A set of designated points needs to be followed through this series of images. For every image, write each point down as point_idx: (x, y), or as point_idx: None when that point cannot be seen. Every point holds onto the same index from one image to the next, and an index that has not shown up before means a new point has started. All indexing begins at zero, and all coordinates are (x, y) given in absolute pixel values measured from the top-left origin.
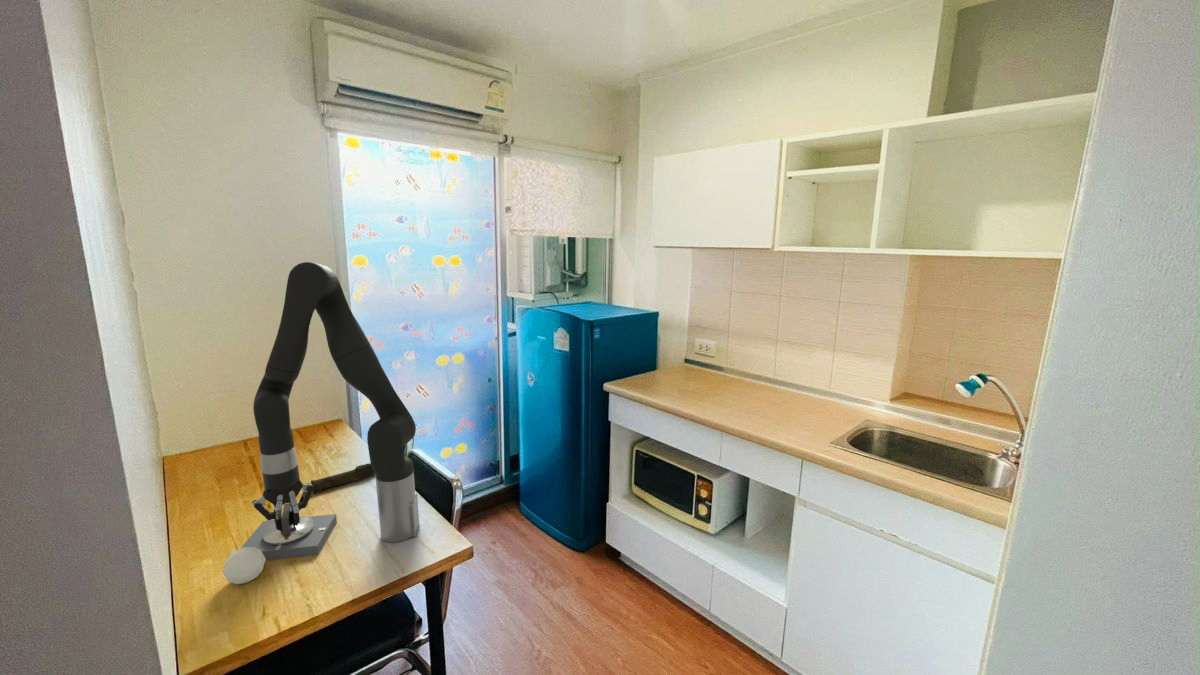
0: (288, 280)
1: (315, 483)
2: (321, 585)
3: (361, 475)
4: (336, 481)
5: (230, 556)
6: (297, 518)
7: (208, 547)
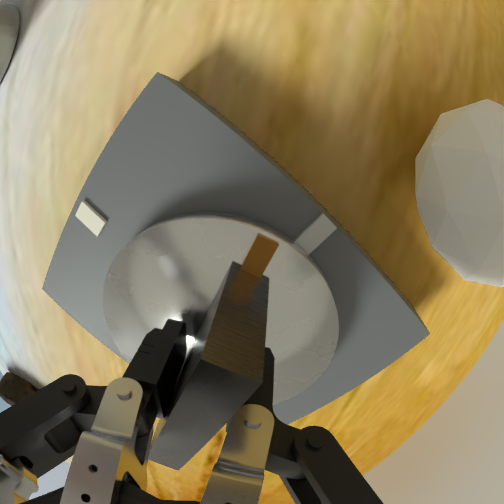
0: None
1: None
2: None
3: (22, 390)
4: None
5: None
6: (148, 351)
7: (385, 420)
